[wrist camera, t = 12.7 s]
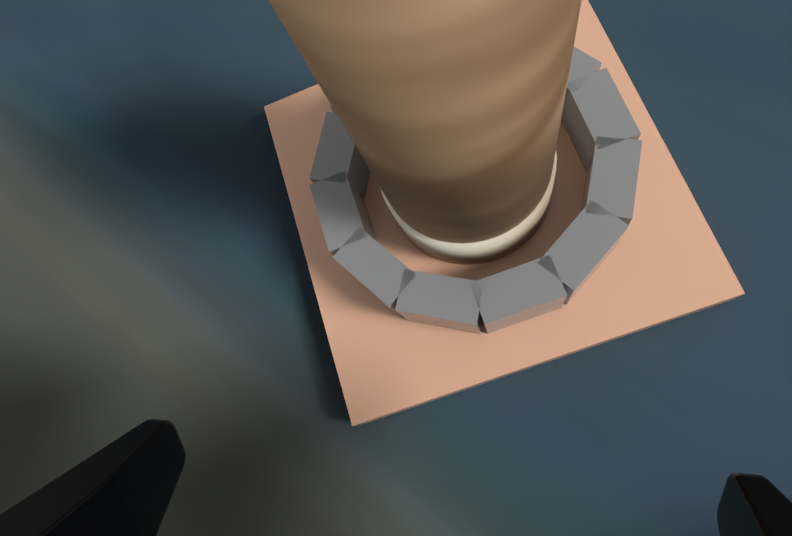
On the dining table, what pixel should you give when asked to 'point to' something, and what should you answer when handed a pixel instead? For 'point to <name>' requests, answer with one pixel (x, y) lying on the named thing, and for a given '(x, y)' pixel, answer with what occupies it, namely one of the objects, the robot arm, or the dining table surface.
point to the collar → (511, 275)
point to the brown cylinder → (447, 109)
